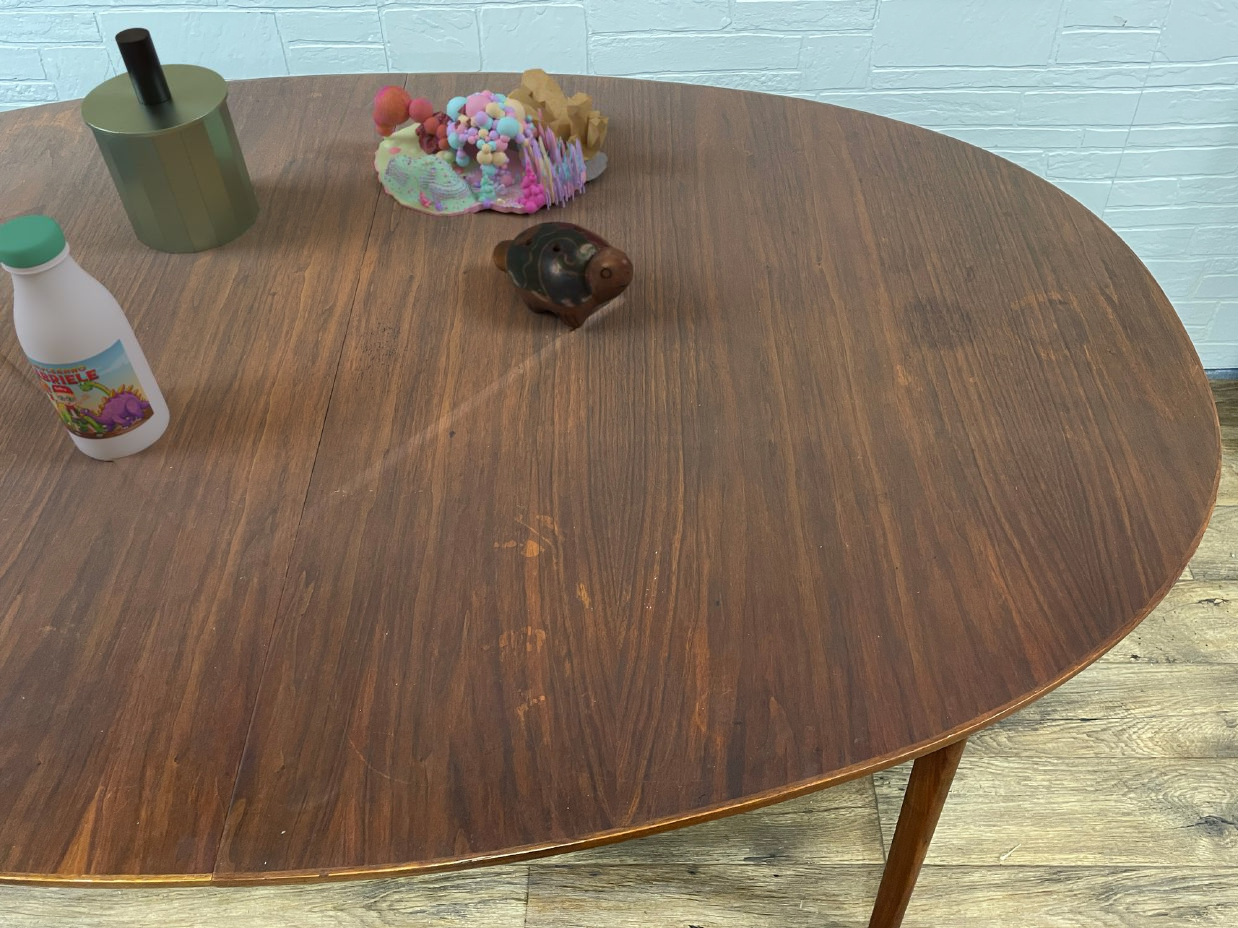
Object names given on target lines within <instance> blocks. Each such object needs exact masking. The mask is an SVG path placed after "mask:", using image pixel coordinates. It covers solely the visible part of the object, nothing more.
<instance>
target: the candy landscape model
mask: <svg viewBox="0 0 1238 928" xmlns="http://www.w3.org/2000/svg"><path fill="white" fill-rule="evenodd" d="M520 85H521V86H520V88H518V87H516V88H515V89H513V90H512V91H511V92H509V94H507V95H506V96H505V94H502V93H495V94H494V92H491V91H490V90H489V89H484V90H483V91H482V92H479V91H477V92H475V93H472V94H470V95H468V96H467V97H464V96H455V97H453V98H451V99H450V100H449V101H448V102H447V105H446V113H444V111H443V110H439V111H435V112H434V107H433V104H432V103H431V102H430V100H428V99H427V98H424V97H416V98H414V99H412V98H411V95H410V94H409V93H408V91H407V90H405V89H404V88H403V87H401V86H398V85H387V86H385V87H382V88H381V89H380V90H378V91H377V93H376V95H375V97H374V99H373V100H374V101H373V105H374V106H373V107H374V110H373V115H372V116H373V121H374V123H375V125H376V132H377V134H378V135H379V136H381V137H382V138H383V139H384V140H382V141H381V142H380V143H379V146H378V149H376V150H375V152H374V155H375V158H374V159H375V160H374V161H373V164H374V168H375V172H376V173H378V174H377V177H378V182H379V183H381V184H382V187H383V188H384V192H385V194H386V195H388V196H391V197H393V198H394V200H395V201H396V202H398V203H399V206H402V207H405V208H408V209H411V210H414V211H417V212H421V213H423V214H427V215H431V216H434V217H449V218H450V217H453V216H461V215H465V214H467V213H468V212H469V213H471V214H475V213H477V212H479V211H483V210H489V209H490V210H493V211H497V212H501V213H507V214H508V213H515V214H519V215H522V214H526V213H528V214H534V213H536V212H537V211H538V210H540V208H543V206H544V205H546V208H547V211H550V207H551V206H552V204H554V203H555V205H556V206H558V205H559V202H562V203H561V204H562V208H565V207H566V202H568V199H569V198H571V197H572V198H571V199H572V201H573V202H574V201H575V191H577V190H578V191H579V192H578V193H579V194H585V193H586V189H585V188H586V187H585V183H586V182H589V181H591V180H594V179H596V178H598V177H599V176H600V175H601V174H602V173H603V172H604V171H605V170H606V169H607V168H608V165H607V162H608V160H609V158H608V157H607V154H606V153H604V152H602V151H600V148H601V147H602V146H603V143H604V140H605V138H606V136H607V133H608V123H609V119H610V118H609V116H602V115H601V110H591V109H592V107H593V103H594V97H592V96H590V95H589V94H588V93H585V92H581V91H578V92H577V93H575V94H574V95H573V96H572V97H569V96H567V98H566V97H565V95H564V93H563V90H562V88H561V87H560V86H559V84H558V83H557V82H556V81H555V80H554V78H553V77H551V76H550V74H548V73H547V72H546V71H545V70H543V69H542V68H530V69H525V70H524V72H523V73H522V75H521V84H520ZM410 119H411V120H412V121H413V122H414V123H412V124H411V125H409V126H407V127H404V128H402V129H399V130H397V131H394V129H395V127H396V126H400V125H403V124H405V123H406V122H408V121H409V120H410ZM565 201H566V202H565Z"/></svg>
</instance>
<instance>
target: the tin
mask: <svg viewBox="0 0 1238 928" xmlns="http://www.w3.org/2000/svg"><path fill="white" fill-rule="evenodd" d="M91 131H92V134H93V136H94V139H95V140H96V143H97V145H98V149H99V150H100V153H101V155H102V157H103V160H104V162H105V165H106V168H107V170H108V172H109V174H110V177H111V179H112V181H113V184H114V187H115V189H116V192H117V193H118V196H119V198H120V202H121V203H122V205H123V208H124V210H125V212H126V215H127V218H128V220H129V223H130V224H131V227H132V230H133V231H134V234H135V237H136V238H137V240H138V241H139V242H140V243H142V244H143V245H145V246H146V247H147V248H149V249H150V250H154V251H158V252H162V253H167V254H195V253H200V252H204V251H208V250H212V249H215V248H220V247H222V246H225V245H226V244H228V243H230V242H232V241H234V240H236V239H238V238H240V237H242V235H244V234H245V233H246V232H247V231H248V230H249V229H250V228H251V227H253V225H255V223H256V221H257V219H258V214H259V212H260V206H259V203H258V199H257V197H256V193H255V190H254V185H253V183H252V181H251V176H250V174H249V169H248V167H247V164H246V160H245V158H244V154H243V151H242V148H241V144H240V140H239V138H238V135H237V131H236V128H235V125H234V121H233V118H232V115H231V112H230V109H229V105H228V102H227V101H226V102H225V103H224V105H223V106H222V107H221V108H220V109H219V110H218V111H217V112H216V113H215V114H213V115H212V116H211V117H209V118H207V119H206V120H204V121H202V122H200V123H198V124H196V125H194V126H191V127H189V128H186V129H183V130H180V131H177V132H173V133H169V134H165V135H159V136H153V137H143V138H122V137H114V136H109V135H105V134H101V133H99V132H96V131H95V130H93V129H91Z"/></svg>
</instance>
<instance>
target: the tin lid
mask: <svg viewBox="0 0 1238 928" xmlns="http://www.w3.org/2000/svg"><path fill="white" fill-rule="evenodd" d="M114 40H115V42H116V45H117V48H118V50H119V53H120V56H121V59H122V61H123V63H124V66H125V69H126V72H123V73H121V74H118V75H116V76H113V77H111V78H109V79H107V80H105V81H103V82H101V83H100V84H98V85H96V87H94V88H93V89H92V90H90V91H89V92H88V93H87V94H86V95H85V97H84V98H83V99H82V102H81V105H80V115H81V118H82V120H83V122H84V123H85V125H86V126H87V127H89V128H90V129H91V130H92V129H93V130H95V131H96V132H99V133H101V134H105V135H109V136H114V137H122V138H143V137H153V136H159V135H165V134H169V133H173V132H177V131H180V130H183V129H186V128H189V127H191V126H194V125H196V124H198V123H200V122H202V121H204V120H206V119H207V118H209V117H211V116H212V115H213V114H215V113H216V112H217V111H218V110H219V109H220V108H221V107H222V106H223V105H224V103H225V102H227V100H228V97H229V87H228V84H227V81H226V79H225V78H224V77H223V75H221V74H220V73H218V72H217V71H215V70H214V69H213V70H212V69H211V68H208V67H204V66H200V65H195V64H185V63H170V64H169V63H167V64H161V61H160V59H159V55H158V52H157V50H156V47H155V44H154V41H153V38H152V36H151V33H150V31H149V29H147V28H144V27H130V28H126V29H123V30H121V31H119V32H118V33H116V34H115V36H114Z"/></svg>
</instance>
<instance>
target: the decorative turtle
mask: <svg viewBox="0 0 1238 928" xmlns="http://www.w3.org/2000/svg"><path fill="white" fill-rule="evenodd" d="M492 252H493V253H492V260H493V263H494V265H495V266H496V268H497V269H498V270H499V271H501V272H503V273H506V274H507V276H508V278H509V280H510V282H511V284H512V285H513V287H514V288H515V290H516V291H517V292H518V293H519V295H520V297H521V299H522V301H523V303H524V304H525V306H526V307H527V309H528V310H529V311H530V312H532V313H535V314H540V313H544V312H546V311H549V312H552V313H554V314H555V315H557V317H558V318H559V319H560V320H561V321H562V323H563V324H564V325H565V326H568V327H569V328H571V329H572V330H576V329H580V328H581V327H582V326H583V325H584V324H585V322H586V321H587V319H588V318H589V316H590V314H591V313H592V312H593V310H594V309H596V307H597V306H599V305H602V304H603V303H606V302H608V301H612V300H614V299H615V298H617V297H618V296H620V295H621V294H622V293H623V292H624V291H626V289H627V288H628V287H629V286H630V283H632V281H634V280H633V279H634V265H633V263H632V261H631V260H630V258H629V256H628V255H627V253H625V252H624V251H623V250H622V249H620V248H618V247H615V246H613V245H611V244H610V243H609V241H607V240H606V239H605V238H604V237H602V236H601V235H600V234H598V233H596V232H594V231H592V230H591V229H590V228H587V227H585V226H583V225H581V224H576V223H571V222H567V221H546V222H540V223H537V224H534V225H532V226H529V227H528V228H525V229H524V230H522V231H521V232H520V233H519V234H517V235H516V236H515V237H514V239H505V240H504V239H503V240H501V241H499V242H498V243H497V244H496V245H495V247H494V248H493V251H492Z"/></svg>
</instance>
